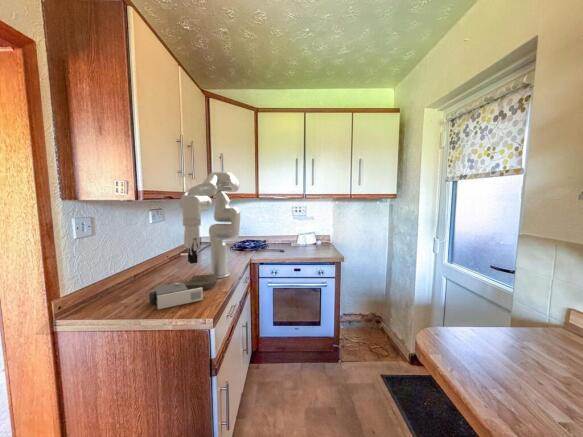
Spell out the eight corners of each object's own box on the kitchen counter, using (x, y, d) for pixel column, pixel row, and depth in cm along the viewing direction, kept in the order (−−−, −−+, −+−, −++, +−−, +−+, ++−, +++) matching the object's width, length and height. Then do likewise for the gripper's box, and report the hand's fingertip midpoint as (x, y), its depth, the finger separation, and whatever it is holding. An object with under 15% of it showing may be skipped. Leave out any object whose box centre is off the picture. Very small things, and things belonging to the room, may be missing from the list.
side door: (157, 308, 100) (157, 295, 100) (202, 299, 110) (202, 287, 110) (158, 309, 99) (157, 296, 99) (203, 300, 109) (202, 288, 109)
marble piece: (181, 292, 120) (180, 284, 120) (186, 282, 134) (186, 275, 134) (216, 289, 124) (215, 281, 124) (217, 280, 138) (217, 273, 138)
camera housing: (148, 300, 109) (148, 286, 108) (183, 294, 117) (182, 280, 116) (150, 310, 99) (150, 294, 99) (188, 302, 107) (187, 287, 107)
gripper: (179, 221, 114) (180, 259, 115) (186, 224, 101) (187, 267, 102) (196, 220, 118) (197, 257, 120) (205, 223, 105) (205, 265, 106)
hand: (192, 261), depth 111 cm, fingers open, 3 cm apart
